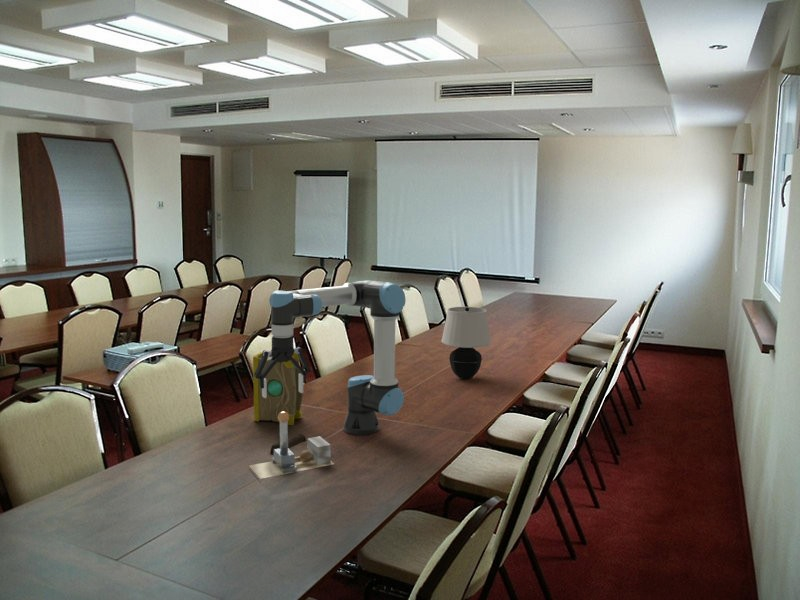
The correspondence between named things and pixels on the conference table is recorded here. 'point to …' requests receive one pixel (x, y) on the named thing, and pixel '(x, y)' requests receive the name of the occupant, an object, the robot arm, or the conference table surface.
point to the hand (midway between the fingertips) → (282, 394)
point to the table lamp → (466, 339)
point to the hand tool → (289, 442)
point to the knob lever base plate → (298, 460)
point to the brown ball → (305, 456)
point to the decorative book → (278, 391)
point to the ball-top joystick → (284, 446)
